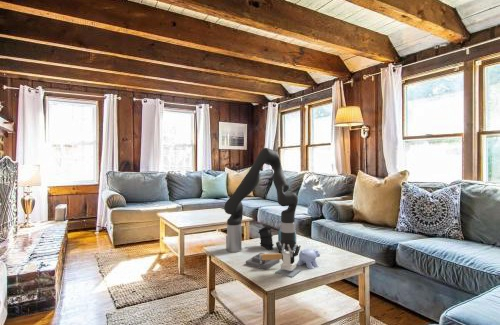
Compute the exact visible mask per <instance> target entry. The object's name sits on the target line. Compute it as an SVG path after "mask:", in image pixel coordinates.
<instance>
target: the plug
mask: <svg viewBox="0 0 500 325" xmlns="http://www.w3.org/2000/svg"><path fill="white" fill-rule="evenodd" d="M296 267H297V263H296V262H294V263H293V264H291V255H290V253H289V250H286V252H284V253H283V261H282V263H281V264H280V267H279V268H280V269H285V270H289V271H291V270H293V269H294V268H295V269H297V268H296Z"/></svg>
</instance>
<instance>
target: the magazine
mask: <svg viewBox="0 0 500 325" xmlns="http://www.w3.org/2000/svg"><path fill="white" fill-rule="evenodd" d="M271 229H272V227H271V226H270V225H266V226H264V227H262V228H259V229H258V231H257V232H258V234H259V240H260V242H259V244H260V247H262V248H264V249H266V250H268V251H273V249H274V243H273V234H272V230H271Z"/></svg>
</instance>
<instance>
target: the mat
mask: <svg viewBox="0 0 500 325" xmlns="http://www.w3.org/2000/svg"><path fill="white" fill-rule="evenodd" d="M300 272H302V269H298V268H294V269H293V270H291V271H289V270H285V269H281V268H278V269H277V270H276V271H275V272H274V273H275V274H278V275H282V276H284V277H288V278H294V277H295V276H296V275H298V274H299V273H300Z"/></svg>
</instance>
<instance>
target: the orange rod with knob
mask: <svg viewBox="0 0 500 325" xmlns="http://www.w3.org/2000/svg"><path fill="white" fill-rule="evenodd" d="M258 254H259V253H258ZM259 256H260V260H277V259H280V260H282V254H281V253H279V252H276V253H264V254H259Z"/></svg>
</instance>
